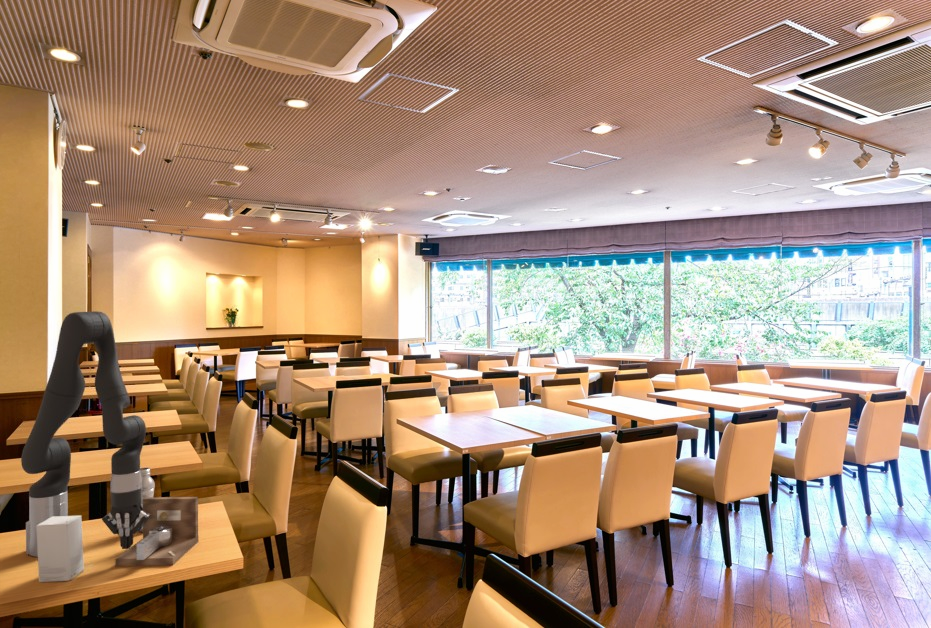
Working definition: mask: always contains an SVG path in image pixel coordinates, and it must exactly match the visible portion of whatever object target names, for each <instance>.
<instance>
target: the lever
mask: <svg viewBox="0 0 931 628" xmlns="http://www.w3.org/2000/svg"><path fill="white" fill-rule="evenodd" d="M141 539H142V540H141ZM141 539H140V540H141V541H140V540H139V541H140V542H139V541H137V542H138V543H137V542H136V543H137V560H144V559H146V558H147V557H148V556H149V555H150V554H152V553H153V552H154V551H155V550H157V549H158V548H159V547H163V546H167V545H169V544H171V543H172V527H170V526H164V525H161V526H157V527H156V528H153V529H151V530H150V531H149V535H148V536H146V537H145V538H144V539H143V538H141Z"/></svg>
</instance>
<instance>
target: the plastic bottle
mask: <svg viewBox="0 0 931 628" xmlns="http://www.w3.org/2000/svg"><path fill="white" fill-rule="evenodd" d="M140 473H141V482H142V485H141V494H142V500H141V506H142V508H143V499H144V498H148V497H154V493H155V487H156V485H155V484H156V483H155V481H154V479H153V478H152V477H151V476H150V475H151V468H150V467H140ZM139 517H140V515H139ZM139 517H138V518H137V519H136V524H135V526H136V525H137V523H138V522H139V521H140V520H139ZM138 532H143V527H142V528H141V529H140V530H139V531H138Z"/></svg>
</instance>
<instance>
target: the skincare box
mask: <svg viewBox="0 0 931 628" xmlns="http://www.w3.org/2000/svg"><path fill="white" fill-rule="evenodd" d="M82 519H83V518H82V515H68V516H53V517H51V518H49V519H47V520H45V521H44V522H42V523H40V524H38V525H36V531H37V550H38V557H37V566H38V567H37V568H38V569H37V570H38V583H47V582H48V583H49V582H52V583H53V582H70V581H71V580H73V579H74V578H75V577H77V576H78V575H80V573H82V572H83V571H84V570H85V565H84V562H85V561H84V545H83V544H84V541H83V524H82V523H83V522H82Z"/></svg>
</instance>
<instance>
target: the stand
mask: <svg viewBox="0 0 931 628" xmlns="http://www.w3.org/2000/svg"><path fill="white" fill-rule="evenodd" d="M143 512H145V513H146V514H148V513H149V514H150V515H151V516H150V518H149V519H148V520H147V522H146V523H145V524H144V525H143V531H142V538H141V539H140V540H139V541H137V542H136V543H135V544H133V545H132V546H131V547H130V548H129V549H126V550H125V551H124V552H123V553H121V554H120V555H118V556H117V557H116V558H115V559H114V560H115V562H114V563H115V565H114V566H115V567H127V566H128V567H129V566H131V567H132V566H134V567H135V566H136V567H137V566H141V567H142V566H144V567H145V566H174V565H175V564H177V562H178V561H180V559H181V558H182V557H184V556H185V555H186V554H187V553H188V552H189V551H190V550H191V549H192V548H193V547H194V546H195V545H196V544H198V542H199V497H198V496H176V497H175V496H174V497H173V496H171V497H170V496H165V497H160V496H157V497H154V496H153V497H148V498H144V499H143ZM161 525H164V526H170V527H172V543H171V544H169V545H167V546H163V547H159V548H158V549H157V550H155V551H154V552H153V553H152V554H150V555H149V556H148V557H147V558H146V559H144V560H137V543H138V542H140V541H141V540H142V539H144V538H145V537H146V536H148V535H149V531H150V530H151V529H153V528H156V527H157V526H161ZM188 550H189V551H188ZM185 553H186V554H185ZM184 554H185V555H184ZM173 564H174V565H173Z"/></svg>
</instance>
